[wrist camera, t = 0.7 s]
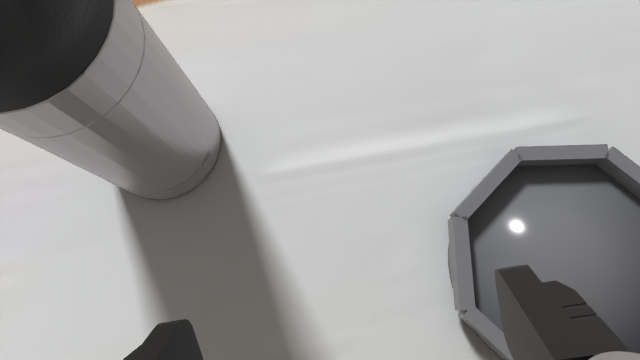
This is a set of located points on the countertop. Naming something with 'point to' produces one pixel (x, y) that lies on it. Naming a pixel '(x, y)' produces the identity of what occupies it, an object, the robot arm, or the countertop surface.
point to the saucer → (551, 235)
